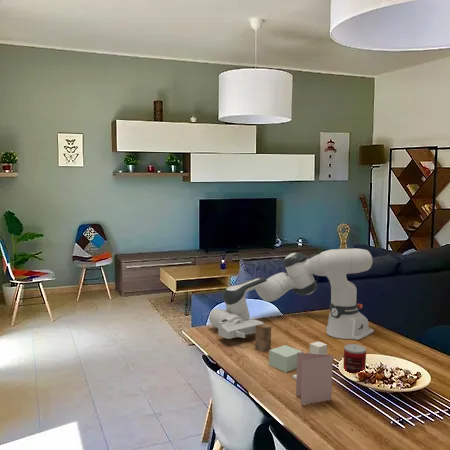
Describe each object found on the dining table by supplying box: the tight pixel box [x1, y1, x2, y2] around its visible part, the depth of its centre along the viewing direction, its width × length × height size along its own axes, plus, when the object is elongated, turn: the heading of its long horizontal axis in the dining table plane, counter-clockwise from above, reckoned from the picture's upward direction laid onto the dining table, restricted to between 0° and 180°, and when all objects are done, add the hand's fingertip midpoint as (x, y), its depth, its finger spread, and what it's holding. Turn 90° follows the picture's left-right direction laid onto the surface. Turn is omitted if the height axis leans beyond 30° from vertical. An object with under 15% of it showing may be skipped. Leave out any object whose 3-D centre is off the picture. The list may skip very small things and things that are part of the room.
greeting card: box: [295, 352, 334, 406], centre depth 161 cm, size 11×7×15 cm, turn 77°
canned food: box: [343, 343, 367, 373], centre depth 180 cm, size 8×8×11 cm
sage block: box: [268, 344, 304, 373], centre depth 191 cm, size 9×9×6 cm
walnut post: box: [254, 323, 272, 353], centre depth 207 cm, size 4×4×10 cm
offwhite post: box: [309, 341, 328, 355], centre depth 186 cm, size 4×4×10 cm
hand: (254, 333), depth 211 cm, fingers open, 8 cm apart
